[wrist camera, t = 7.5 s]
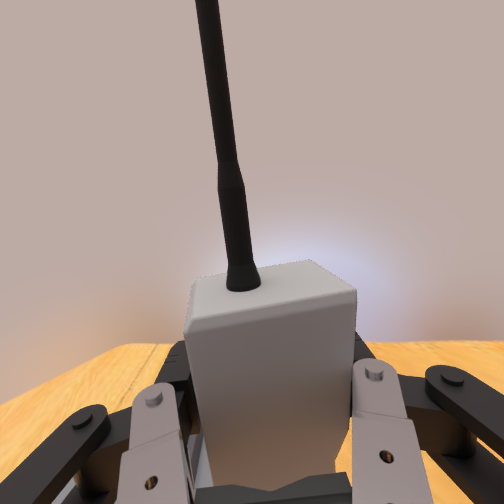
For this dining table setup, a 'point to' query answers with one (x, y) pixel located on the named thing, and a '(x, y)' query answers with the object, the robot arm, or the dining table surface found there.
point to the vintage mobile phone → (264, 334)
